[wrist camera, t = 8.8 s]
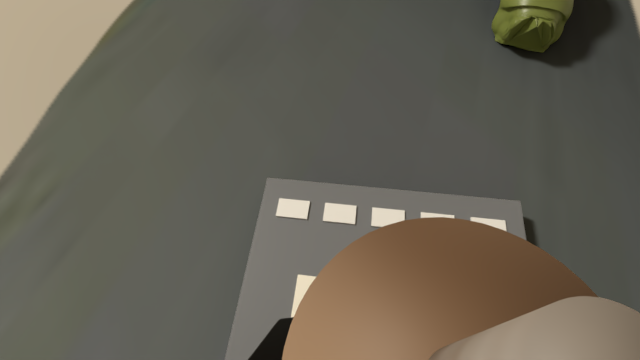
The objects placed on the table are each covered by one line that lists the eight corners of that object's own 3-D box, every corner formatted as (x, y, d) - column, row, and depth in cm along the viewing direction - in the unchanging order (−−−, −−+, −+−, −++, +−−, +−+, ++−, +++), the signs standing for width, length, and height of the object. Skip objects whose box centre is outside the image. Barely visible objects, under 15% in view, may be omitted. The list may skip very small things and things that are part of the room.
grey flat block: (574, 673, 11) (600, 704, 10) (181, 585, 13) (165, 604, 12) (510, 211, 19) (521, 200, 18) (271, 188, 20) (267, 176, 19)
